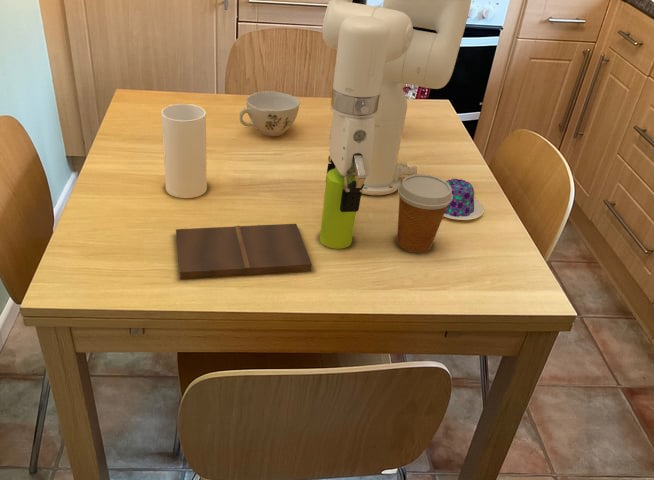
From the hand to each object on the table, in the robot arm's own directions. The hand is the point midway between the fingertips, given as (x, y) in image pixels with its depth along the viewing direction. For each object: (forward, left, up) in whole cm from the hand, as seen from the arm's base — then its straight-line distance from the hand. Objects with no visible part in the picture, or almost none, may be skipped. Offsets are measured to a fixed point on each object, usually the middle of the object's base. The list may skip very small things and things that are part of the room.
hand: (341, 197), depth 110 cm
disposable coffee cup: (-14, +2, -9) cm, 17 cm away
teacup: (+5, -48, -9) cm, 49 cm away
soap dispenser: (0, -1, -9) cm, 9 cm away
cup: (+26, -22, -9) cm, 35 cm away
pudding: (-27, -10, -9) cm, 30 cm away
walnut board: (+18, +2, -9) cm, 20 cm away
